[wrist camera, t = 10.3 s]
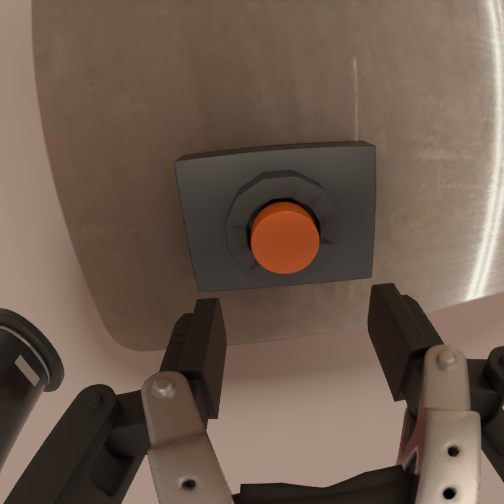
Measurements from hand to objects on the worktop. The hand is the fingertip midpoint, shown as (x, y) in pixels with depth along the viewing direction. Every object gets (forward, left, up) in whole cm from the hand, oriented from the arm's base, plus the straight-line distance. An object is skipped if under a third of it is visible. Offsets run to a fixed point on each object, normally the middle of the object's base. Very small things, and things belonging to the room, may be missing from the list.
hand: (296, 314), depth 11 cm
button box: (0, 0, -11) cm, 11 cm away
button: (0, 0, -8) cm, 8 cm away
